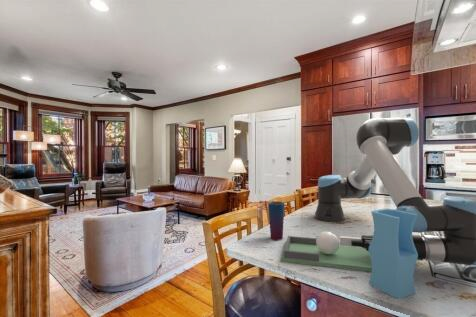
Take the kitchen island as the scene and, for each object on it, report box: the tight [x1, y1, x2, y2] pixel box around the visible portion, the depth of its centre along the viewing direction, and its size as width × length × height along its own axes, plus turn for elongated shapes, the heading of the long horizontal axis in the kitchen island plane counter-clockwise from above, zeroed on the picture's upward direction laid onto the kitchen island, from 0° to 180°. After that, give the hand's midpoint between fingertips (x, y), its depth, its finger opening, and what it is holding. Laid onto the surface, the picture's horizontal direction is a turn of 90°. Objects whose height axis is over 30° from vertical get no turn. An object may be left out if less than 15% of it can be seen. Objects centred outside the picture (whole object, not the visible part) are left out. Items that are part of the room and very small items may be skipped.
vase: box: [368, 208, 418, 300], centre depth 62 cm, size 8×8×20 cm
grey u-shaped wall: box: [284, 235, 319, 261], centre depth 85 cm, size 11×15×2 cm
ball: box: [316, 231, 340, 255], centre depth 81 cm, size 8×8×8 cm
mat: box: [280, 240, 372, 273], centre depth 82 cm, size 34×16×1 cm, turn 73°
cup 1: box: [267, 201, 285, 241], centre depth 100 cm, size 7×7×15 cm
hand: (340, 240), depth 80 cm, fingers closed
